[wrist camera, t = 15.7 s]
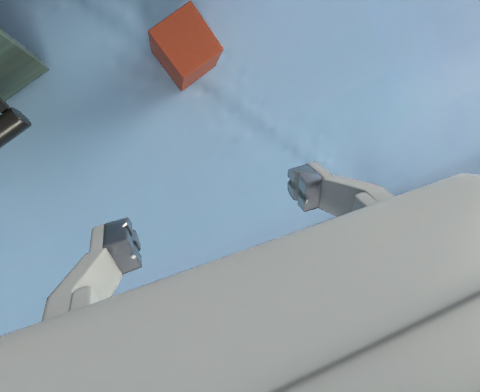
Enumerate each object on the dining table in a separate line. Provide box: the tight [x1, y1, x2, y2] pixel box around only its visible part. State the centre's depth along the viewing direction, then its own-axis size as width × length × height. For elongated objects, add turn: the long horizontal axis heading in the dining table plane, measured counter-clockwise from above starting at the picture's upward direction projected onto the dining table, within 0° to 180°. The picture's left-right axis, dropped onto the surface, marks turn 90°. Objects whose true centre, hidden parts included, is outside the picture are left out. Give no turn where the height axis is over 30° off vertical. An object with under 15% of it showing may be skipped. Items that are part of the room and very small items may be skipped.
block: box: [148, 1, 223, 91], centre depth 25 cm, size 5×5×5 cm
